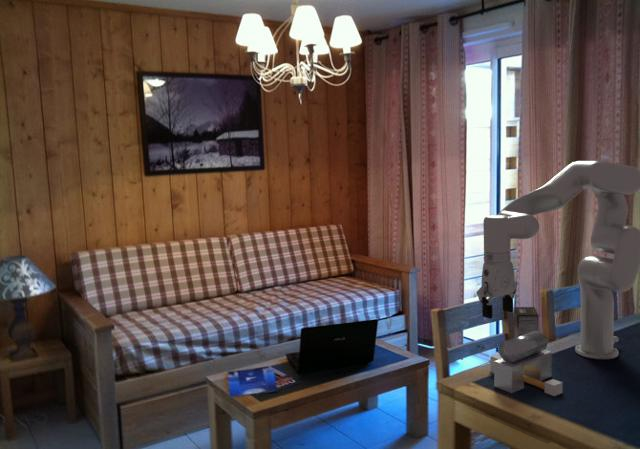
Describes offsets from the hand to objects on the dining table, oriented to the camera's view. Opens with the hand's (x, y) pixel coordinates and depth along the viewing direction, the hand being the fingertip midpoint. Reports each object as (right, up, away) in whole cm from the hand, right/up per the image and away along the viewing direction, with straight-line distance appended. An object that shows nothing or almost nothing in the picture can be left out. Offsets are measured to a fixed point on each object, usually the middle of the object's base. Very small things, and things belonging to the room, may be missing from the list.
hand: (497, 314), depth 168 cm
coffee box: (+13, -16, +11) cm, 24 cm away
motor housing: (+6, -19, -5) cm, 20 cm away
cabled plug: (+6, -19, -5) cm, 20 cm away
